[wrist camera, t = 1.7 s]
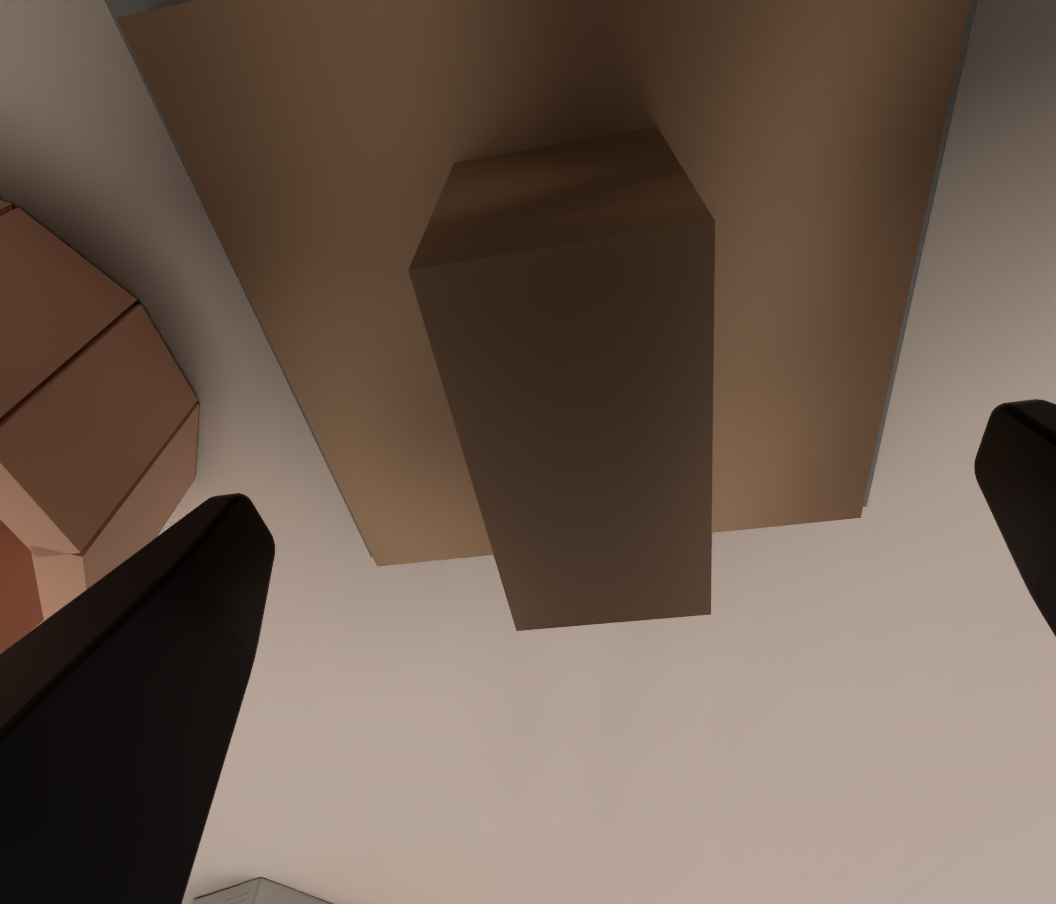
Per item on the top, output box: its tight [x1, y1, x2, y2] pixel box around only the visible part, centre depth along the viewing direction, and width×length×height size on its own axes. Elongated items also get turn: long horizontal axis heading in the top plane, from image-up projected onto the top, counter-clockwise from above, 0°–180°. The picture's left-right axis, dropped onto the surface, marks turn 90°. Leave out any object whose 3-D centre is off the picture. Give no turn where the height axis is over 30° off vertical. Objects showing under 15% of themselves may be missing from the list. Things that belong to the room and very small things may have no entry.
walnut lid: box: [117, 0, 971, 631], centre depth 10 cm, size 11×11×5 cm
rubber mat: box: [105, 0, 977, 557], centre depth 12 cm, size 12×12×1 cm
